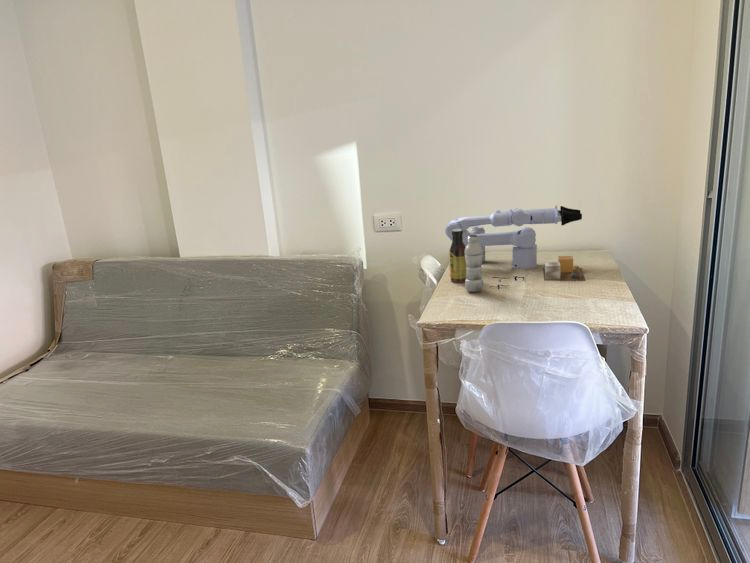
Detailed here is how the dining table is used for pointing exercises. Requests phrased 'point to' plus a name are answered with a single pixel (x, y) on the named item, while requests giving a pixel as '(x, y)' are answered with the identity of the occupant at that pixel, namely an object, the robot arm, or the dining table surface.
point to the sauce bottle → (457, 257)
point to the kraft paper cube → (566, 263)
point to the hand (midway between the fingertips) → (581, 214)
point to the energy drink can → (479, 231)
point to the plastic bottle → (473, 264)
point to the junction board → (561, 273)
